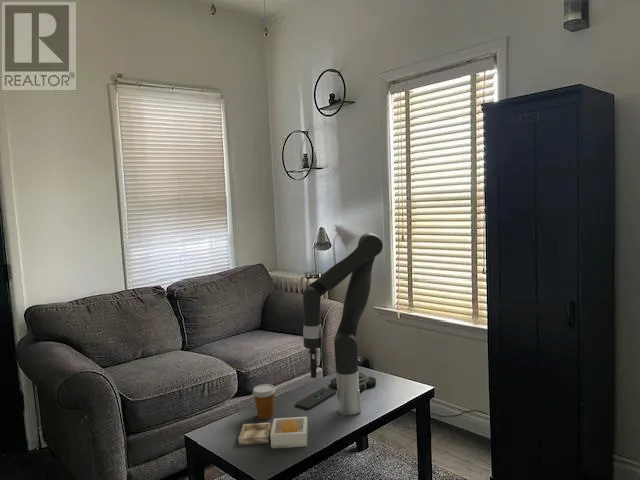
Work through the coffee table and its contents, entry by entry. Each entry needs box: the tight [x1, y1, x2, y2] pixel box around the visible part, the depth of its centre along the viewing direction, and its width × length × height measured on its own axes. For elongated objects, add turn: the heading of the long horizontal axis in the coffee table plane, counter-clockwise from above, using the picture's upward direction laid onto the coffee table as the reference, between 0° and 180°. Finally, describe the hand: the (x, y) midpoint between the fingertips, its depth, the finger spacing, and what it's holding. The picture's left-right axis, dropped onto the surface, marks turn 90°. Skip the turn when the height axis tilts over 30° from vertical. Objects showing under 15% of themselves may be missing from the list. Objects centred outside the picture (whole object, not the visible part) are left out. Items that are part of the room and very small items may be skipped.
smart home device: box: [294, 387, 337, 411], centre depth 215 cm, size 8×2×20 cm
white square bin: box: [269, 416, 309, 449], centre depth 182 cm, size 13×13×5 cm
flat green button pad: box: [329, 371, 377, 392], centre depth 228 cm, size 18×18×5 cm
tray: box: [238, 422, 272, 446], centre depth 185 cm, size 11×11×2 cm
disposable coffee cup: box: [252, 383, 276, 420], centre depth 201 cm, size 10×10×12 cm
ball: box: [282, 420, 297, 433], centre depth 181 cm, size 6×6×6 cm
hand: (313, 373), depth 199 cm, fingers open, 8 cm apart
